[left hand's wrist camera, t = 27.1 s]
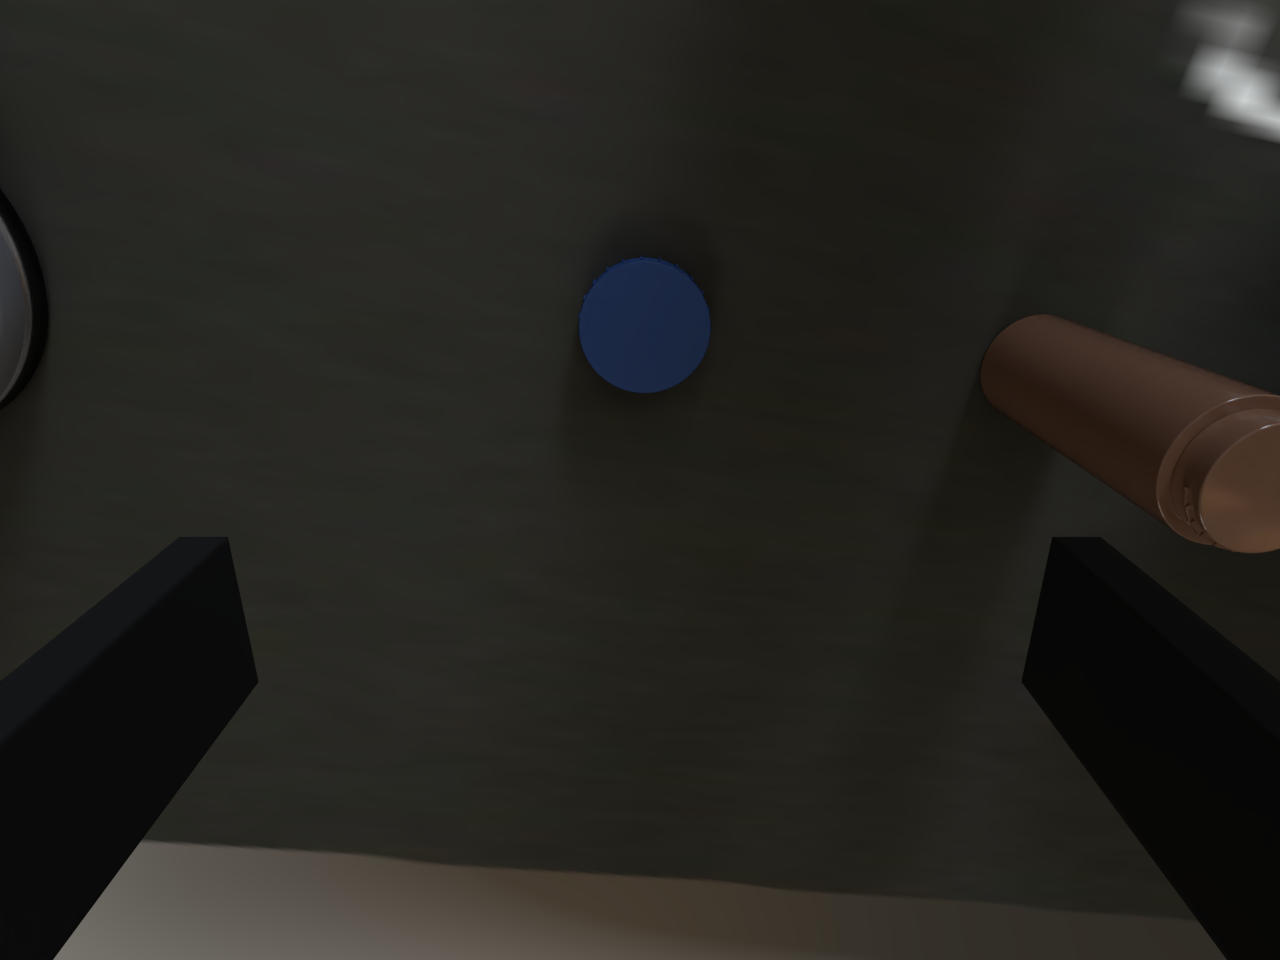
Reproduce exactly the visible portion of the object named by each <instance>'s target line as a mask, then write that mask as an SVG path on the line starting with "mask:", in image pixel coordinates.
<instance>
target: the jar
mask: <svg viewBox="0 0 1280 960" xmlns="http://www.w3.org/2000/svg"><path fill="white" fill-rule="evenodd" d="M981 386H982V389H983V392H984V394H985V397H986V398H987V400H988V401H989V403H990V404H991V405H992V406H993V407H994V408H995V409H996V410H998V411H999V412H1000V413H1002V414H1003V415H1005V416H1006V417H1008V418H1009V419H1011V420H1012V421H1013V422H1015V423H1016V424H1018V425H1019V426H1021V427H1022V428H1024V429H1025V430H1027V431H1028V432H1029V433H1031V434H1032V435H1034V436H1035V437H1037V438H1038V439H1040V440H1041V441H1043V442H1044V443H1046V444H1047V445H1048V446H1050V447H1051V448H1053V449H1054V450H1056V451H1057V452H1059V453H1060V454H1062V455H1063V456H1065V457H1066V458H1067V459H1069V460H1070V461H1072V462H1073V463H1075V464H1076V465H1078V466H1079V467H1081V468H1082V469H1083V470H1085V471H1086V472H1088V473H1089V474H1091V475H1092V476H1094V477H1095V478H1097V479H1098V480H1100V481H1101V482H1102V483H1104V484H1105V485H1107V486H1108V487H1110V488H1111V489H1113V490H1114V491H1116V492H1117V493H1119V494H1120V495H1121V496H1123V497H1124V498H1126V499H1127V500H1129V501H1130V502H1132V503H1133V504H1135V505H1136V506H1138V507H1139V508H1140V509H1142V510H1143V511H1145V512H1146V513H1148V514H1149V515H1151V516H1152V517H1154V518H1155V519H1156V520H1158V521H1159V522H1161V523H1162V524H1164V525H1165V526H1167V527H1168V528H1170V529H1171V530H1173V531H1174V532H1175V533H1177V534H1178V535H1180V536H1182V537H1184V538H1185V539H1188V540H1190V541H1193V542H1196V543H1201V544H1207V545H1214V546H1216V547H1219V548H1223V549H1226V550H1229V551H1231V552H1242V553H1263V552H1269V551H1273V550H1277V549H1280V395H1277V394H1275V393H1272V392H1269V391H1266V390H1263V389H1261V388H1258V387H1255V386H1252V385H1249V384H1247V383H1244V382H1241V381H1238V380H1236V379H1233V378H1230V377H1227V376H1224V375H1222V374H1219V373H1216V372H1213V371H1210V370H1208V369H1205V368H1202V367H1199V366H1197V365H1194V364H1191V363H1188V362H1185V361H1183V360H1180V359H1177V358H1174V357H1171V356H1169V355H1166V354H1163V353H1160V352H1158V351H1155V350H1152V349H1149V348H1146V347H1144V346H1141V345H1138V344H1135V343H1132V342H1130V341H1127V340H1124V339H1121V338H1119V337H1116V336H1113V335H1110V334H1107V333H1105V332H1102V331H1099V330H1096V329H1093V328H1091V327H1088V326H1085V325H1082V324H1080V323H1077V322H1074V321H1071V320H1068V319H1066V318H1063V317H1060V316H1056V315H1050V314H1039V315H1032V316H1029V317H1025V318H1023V319H1020V320H1018V321H1016V322H1014V323H1013V324H1011V325H1009V326H1008V327H1007V328H1005V329H1004V330H1003V331H1002V332H1001V333H1000V334H999V335H998V336H997V337H996V338H995V339H994V340H993V342H992V343H991V345H990V346H989V348H988V350H987V351H986V354H985V356H984V359H983V362H982V366H981Z"/></svg>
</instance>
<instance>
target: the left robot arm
mask: <svg viewBox="0 0 1280 960" xmlns="http://www.w3.org/2000/svg"><path fill="white" fill-rule="evenodd" d="M47 321H48V307H47V297H46V289H45V284H44V279H43V274H42V271H41V267H40V264H39V261H38V257H37V255H36V252H35V250H34V247H33V244H32V242H31V240H30V238H29V236H28V233H27V231H26V229H25V227H24V225H23V223H22V222H21V220H20V218H19V216H18V215H17V213H16V211H15V210H14V208H13V206H12V205H11V203H10V202H9V201H8V199H7V198H6V196H5V195H4V193H3V192H2V190H1V189H0V410H1V409H3V408H4V407H6V406H7V405H8V404H9V403H10V402H12V401H13V400H14V399H15V398H16V397H17V396H18V395H19V394H20V393H21V391H22V390H23V389H24V388H25V386H26V385H27V384H28V382H29V381H30V379H31V378H32V376H33V374H34V372H35V370H36V368H37V366H38V364H39V361H40V358H41V355H42V353H43V348H44V344H45V340H46V332H47ZM257 683H258V677H257V673H256V668H255V663H254V659H253V654H252V649H251V644H250V640H249V635H248V630H247V626H246V621H245V616H244V612H243V607H242V602H241V597H240V593H239V588H238V583H237V579H236V574H235V569H234V564H233V560H232V555H231V550H230V546H229V541H228V537H179V538H178V539H177V540H175V541H174V542H173V543H172V544H170V545H169V546H168V547H167V548H165V549H164V550H163V551H162V552H160V553H159V554H158V555H157V556H155V557H154V558H153V559H152V560H150V561H149V562H148V563H147V564H146V565H144V566H143V567H142V568H141V569H139V570H138V571H137V572H136V573H134V574H133V575H132V576H131V577H129V578H128V579H127V580H126V581H124V582H123V583H122V584H121V585H119V586H118V587H117V588H116V589H115V590H113V591H112V592H111V593H110V594H108V595H107V596H106V597H105V598H103V599H102V600H101V601H100V602H98V603H97V604H96V605H95V606H93V607H92V608H91V609H90V610H88V611H87V612H86V613H85V614H84V615H82V616H81V617H80V618H79V619H77V620H76V621H75V622H74V623H72V624H71V625H70V626H69V627H67V628H66V629H65V630H64V631H62V632H61V633H60V634H59V635H58V636H56V637H55V638H54V639H53V640H51V641H50V642H49V643H48V644H46V645H45V646H44V647H43V648H41V649H40V650H39V651H38V652H36V653H35V654H34V655H33V656H31V657H30V658H29V659H28V660H27V661H25V662H24V663H23V664H22V665H20V666H19V667H18V668H17V669H15V670H14V671H13V672H12V673H10V674H9V675H8V676H7V677H5V678H4V679H3V680H2V681H0V960H53V959H54V958H55V956H56V955H57V954H58V952H59V951H60V950H61V948H62V947H63V945H64V944H65V943H66V941H67V940H68V939H69V937H70V936H71V935H72V933H73V932H74V931H75V929H76V928H77V927H78V925H79V924H80V922H81V921H82V920H83V918H84V917H85V916H86V914H87V913H88V912H89V910H90V909H91V908H92V906H93V905H94V904H95V902H96V901H97V899H98V898H99V897H100V895H101V894H102V893H103V891H104V890H105V889H106V887H107V886H108V885H109V883H110V882H111V881H112V879H113V878H114V876H115V875H116V874H117V872H118V871H119V870H120V868H121V867H122V866H123V864H124V863H125V862H126V860H127V859H128V857H129V856H130V855H131V854H132V852H133V851H134V849H135V848H136V847H137V845H138V844H139V843H140V841H141V840H142V839H143V837H144V836H145V835H146V833H147V832H148V831H149V829H150V828H151V826H152V825H153V824H154V822H155V821H156V820H157V818H158V817H159V816H160V814H161V813H162V812H163V810H164V809H165V808H166V806H167V805H168V803H169V802H170V801H171V799H172V798H173V797H174V795H175V794H176V793H177V791H178V790H179V789H180V787H181V786H182V785H183V783H184V782H185V780H186V779H187V778H188V776H189V775H190V774H191V772H192V771H193V770H194V768H195V767H196V766H197V764H198V763H199V762H200V760H201V759H202V757H203V756H204V755H205V753H206V752H207V751H208V749H209V748H210V747H211V745H212V744H213V743H214V741H215V740H216V739H217V737H218V736H219V734H220V733H221V732H222V730H223V729H224V728H225V726H226V725H227V724H228V722H229V721H230V720H231V718H232V717H233V716H234V714H235V713H236V711H237V710H238V709H239V707H240V706H241V705H242V703H243V702H244V701H245V699H246V698H247V697H248V695H249V694H250V693H251V691H252V690H253V688H254V687H255V686H256V684H257ZM1022 683H1023V684H1024V686H1025V687H1026V688H1027V690H1028V691H1029V693H1030V694H1031V695H1032V697H1033V698H1034V699H1035V701H1036V702H1037V703H1038V705H1039V706H1040V707H1041V709H1042V710H1043V711H1044V713H1045V714H1046V716H1047V717H1048V718H1049V720H1050V721H1051V722H1052V724H1053V725H1054V726H1055V728H1056V729H1057V730H1058V732H1059V733H1060V734H1061V736H1062V737H1063V739H1064V740H1065V741H1066V743H1067V744H1068V745H1069V747H1070V748H1071V749H1072V751H1073V752H1074V753H1075V755H1076V756H1077V757H1078V759H1079V760H1080V762H1081V763H1082V764H1083V766H1084V767H1085V768H1086V770H1087V771H1088V772H1089V774H1090V775H1091V776H1092V778H1093V779H1094V780H1095V782H1096V783H1097V785H1098V786H1099V787H1100V789H1101V790H1102V791H1103V793H1104V794H1105V795H1106V797H1107V798H1108V799H1109V801H1110V802H1111V803H1112V805H1113V806H1114V808H1115V809H1116V810H1117V812H1118V813H1119V814H1120V816H1121V817H1122V818H1123V820H1124V821H1125V822H1126V824H1127V825H1128V826H1129V828H1130V829H1131V831H1132V832H1133V833H1134V835H1135V836H1136V837H1137V839H1138V840H1139V841H1140V843H1141V844H1142V845H1143V847H1144V848H1145V849H1146V851H1147V852H1148V854H1149V855H1150V856H1151V858H1152V859H1153V860H1154V862H1155V863H1156V864H1157V866H1158V867H1159V868H1160V870H1161V871H1162V872H1163V874H1164V875H1165V877H1166V878H1167V879H1168V881H1169V882H1170V883H1171V885H1172V886H1173V887H1174V889H1175V890H1176V891H1177V893H1178V894H1179V895H1180V897H1181V898H1182V900H1183V901H1184V902H1185V904H1186V905H1187V906H1188V908H1189V909H1190V910H1191V912H1192V913H1193V914H1194V916H1195V917H1196V918H1197V920H1198V921H1199V923H1200V924H1201V925H1202V926H1203V928H1204V929H1205V931H1206V932H1207V933H1208V935H1209V936H1210V937H1211V939H1212V940H1213V941H1214V943H1215V944H1216V945H1217V947H1218V948H1219V950H1220V951H1221V952H1222V953H1223V955H1224V956H1225V958H1226V959H1227V960H1280V681H1278V680H1277V679H1276V678H1275V677H1273V676H1272V675H1271V674H1270V673H1268V672H1267V671H1266V670H1265V669H1263V668H1262V667H1261V666H1260V665H1258V664H1257V663H1256V662H1255V661H1253V660H1252V659H1251V658H1250V657H1249V656H1247V655H1246V654H1245V653H1244V652H1242V651H1241V650H1240V649H1239V648H1237V647H1236V646H1235V645H1234V644H1232V643H1231V642H1230V641H1229V640H1227V639H1226V638H1225V637H1224V636H1222V635H1221V634H1220V633H1219V632H1218V631H1216V630H1215V629H1214V628H1213V627H1211V626H1210V625H1209V624H1208V623H1206V622H1205V621H1204V620H1203V619H1201V618H1200V617H1199V616H1198V615H1196V614H1195V613H1194V612H1193V611H1191V610H1190V609H1189V608H1188V607H1187V606H1185V605H1184V604H1183V603H1182V602H1180V601H1179V600H1178V599H1177V598H1175V597H1174V596H1173V595H1172V594H1170V593H1169V592H1168V591H1167V590H1165V589H1164V588H1163V587H1162V586H1161V585H1159V584H1158V583H1157V582H1156V581H1154V580H1153V579H1152V578H1151V577H1149V576H1148V575H1147V574H1146V573H1144V572H1143V571H1142V570H1141V569H1139V568H1138V567H1137V566H1136V565H1134V564H1133V563H1132V562H1131V561H1130V560H1128V559H1127V558H1126V557H1125V556H1123V555H1122V554H1121V553H1120V552H1118V551H1117V550H1116V549H1115V548H1113V547H1112V546H1111V545H1110V544H1108V543H1107V542H1106V541H1105V540H1103V539H1102V538H1101V537H1052V541H1051V546H1050V550H1049V555H1048V560H1047V564H1046V569H1045V574H1044V579H1043V583H1042V588H1041V593H1040V597H1039V602H1038V607H1037V612H1036V616H1035V621H1034V626H1033V630H1032V635H1031V640H1030V644H1029V649H1028V654H1027V659H1026V663H1025V668H1024V673H1023V677H1022Z"/></svg>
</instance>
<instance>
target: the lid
mask: <svg viewBox="0 0 1280 960" xmlns="http://www.w3.org/2000/svg"><path fill="white" fill-rule="evenodd" d="M703 295H704V293H703V291H702V289H699V288H698V286H697V284H696V283H695V282H694V281H693V277H692V275H691V274H690V275H688V274H687V273H686V272H684V271H683V270H682V269H680V268H679V267H678V264H675V265H674V264H672V263H669V262H667V261H664V260H661V258H660V257H659V258H658V259H656V258H648V257H646V258H643V256H640V258H634V259H629V260H626V261H625V259H623V260H622V262H620V263H618V264H616V265H614V266H612V267H611V268H609V267H607V268H606V271H605V272H604V273H603V274H601V275H600V276H599V278H598V279H597V280H595V279H594V280H593V283H592V286H591V288H590V290H589V292H588V294H587V295H586V294H585V296H584V298H583V301H584V303H583V306H582V309H581V312H580V313H579V316H578V318H579V333H578V336H580V342H581V346H582V349H583V353H584V354H585V356H586V358H587V360H588V362H589V363H590V365H591V366H592V368H593V369H594V370H595V371H596V372H597V373H598V374H599V375H600V376H601V377H602V378H603V379H605V380H606V381H607V382H609V383H610V384H612V385H614V386H616V387H618V388H621V389H623V390H626V391H631V392H636V393H653V392H659V391H663V390H666V389H669V388H671V387H673V386H675V385H677V384H679V383H680V382H682V381H683V380H685V379H686V378H687V377H688V376H689V375H690V374H691V373H692V372H693V371H694V370H695V369H696V368H697V366H698V365H699V364H700V362H701V360H702V359H703V357H704V355H705V352H706V350H707V348H708V344H709V339H710V332H711V330H712V327H711V322H710V314H709V312H710V309H709V307H708V306H707V304H706V302H705V299H704V297H703Z"/></svg>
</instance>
